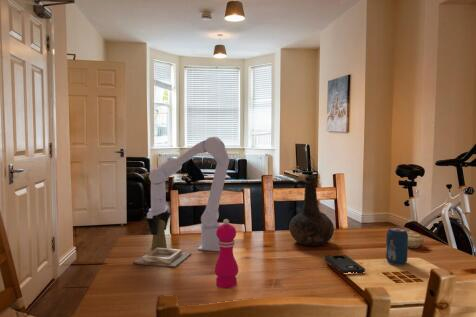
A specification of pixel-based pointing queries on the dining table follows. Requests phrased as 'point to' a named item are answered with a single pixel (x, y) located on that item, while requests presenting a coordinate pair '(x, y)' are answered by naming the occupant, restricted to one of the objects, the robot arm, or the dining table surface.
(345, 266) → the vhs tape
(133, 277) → the dining table surface
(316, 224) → the dark bottle vase
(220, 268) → the pepper mill
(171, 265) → the collar board
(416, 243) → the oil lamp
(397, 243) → the soda can
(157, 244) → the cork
